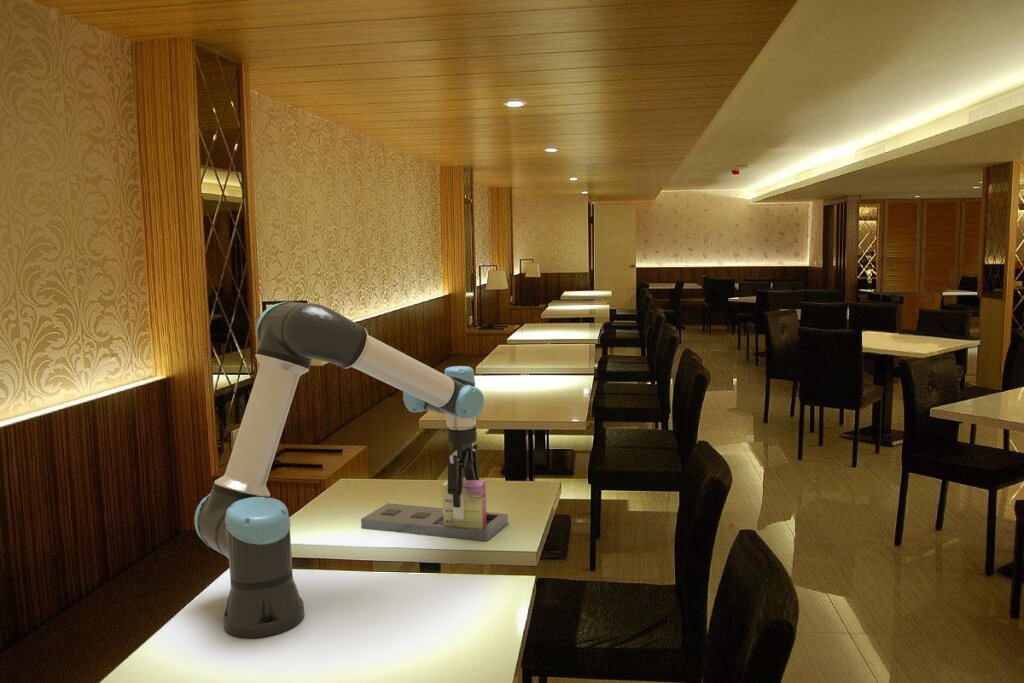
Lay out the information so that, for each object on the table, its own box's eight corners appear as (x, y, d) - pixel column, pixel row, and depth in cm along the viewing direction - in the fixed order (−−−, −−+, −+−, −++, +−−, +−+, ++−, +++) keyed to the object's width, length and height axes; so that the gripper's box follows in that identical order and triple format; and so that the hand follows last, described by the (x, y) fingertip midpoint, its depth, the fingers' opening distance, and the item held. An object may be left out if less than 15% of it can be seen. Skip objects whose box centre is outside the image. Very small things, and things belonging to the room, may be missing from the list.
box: (487, 523, 209) (485, 479, 208) (483, 530, 203) (481, 485, 202) (448, 522, 210) (446, 479, 209) (443, 530, 205) (441, 485, 203)
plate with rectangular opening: (487, 541, 197) (486, 531, 197) (361, 528, 210) (361, 518, 210) (508, 523, 210) (507, 513, 210) (388, 511, 223) (388, 502, 223)
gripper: (458, 435, 193) (462, 527, 196) (490, 419, 212) (493, 504, 214) (430, 434, 196) (434, 525, 199) (464, 418, 215) (467, 501, 217)
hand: (465, 514), depth 206 cm, fingers open, 7 cm apart
